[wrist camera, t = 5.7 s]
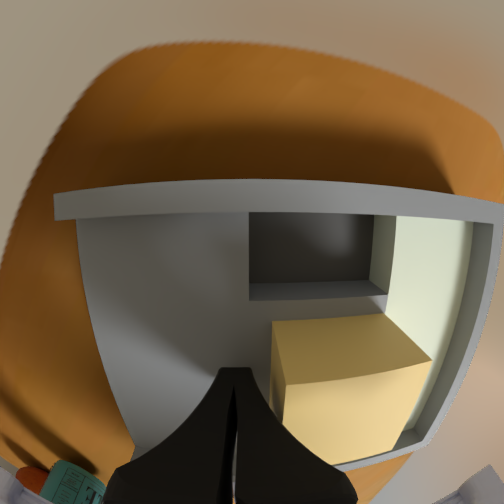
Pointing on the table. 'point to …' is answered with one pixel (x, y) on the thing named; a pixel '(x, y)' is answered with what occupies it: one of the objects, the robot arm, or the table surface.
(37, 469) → the fruit
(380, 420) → the block
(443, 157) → the table surface
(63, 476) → the beverage bottle
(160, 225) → the box
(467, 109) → the table surface
